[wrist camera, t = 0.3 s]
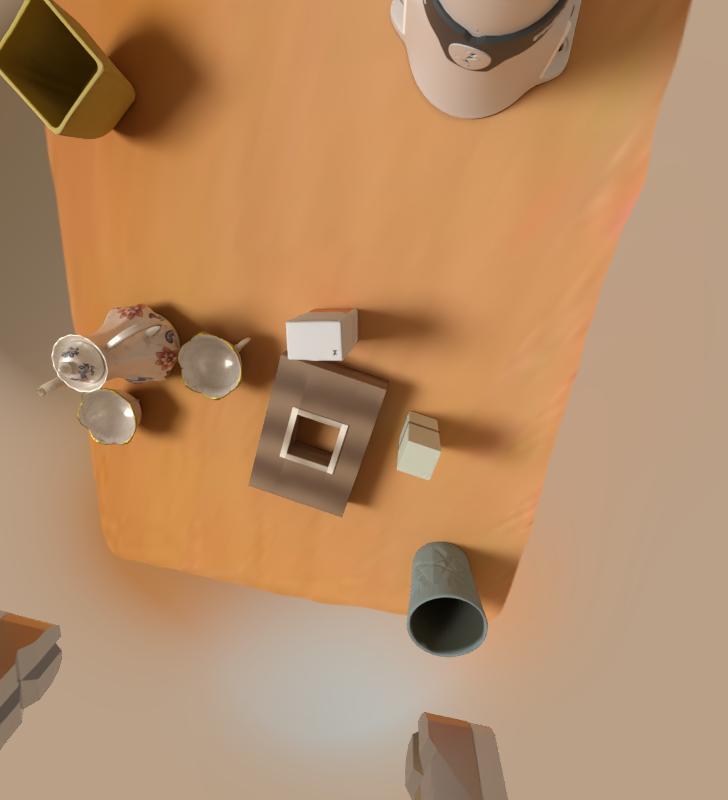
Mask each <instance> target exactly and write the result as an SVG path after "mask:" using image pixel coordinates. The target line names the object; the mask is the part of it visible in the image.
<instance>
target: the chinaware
mask: <svg viewBox="0 0 728 800" xmlns="http://www.w3.org/2000/svg"><path fill="white" fill-rule="evenodd" d="M190 340H191V341H188V342H186V343H185V344H183V345H182V346H181V343H180V338H179V335H178V332H177V330H176V329H175V327H174V326H173V324H172V323H171V322H170V321H169V320H168V319H167V318H166V317H164V316H163V315H161V314H159V313H156V312H154V311H152V310H151V309H150V308H149V307H147V306H146V305H144V304H138V305H135V306H131V307H124V308H113V309H112V310H110V312H109V313H108V315H107V317H106V319H105V322H104V324H103V326H102V327H101V328H100V329H99V330H97V331H96V332H95V333H93V334H91V335H89V336H79V335H67V336H65V337H62V338H60V339H59V340H58V342H57V343H56V344H55V345H54V346H53V353H52V356H51V357H52V360H53V367H54V369H55V370H56V372H57V373H58V376H59V377H57V378H55V379H53V380H51V381H49V382H47V383H45V384H43V385H42V386H40V387H39V388H38V389H37V392H38V394H39V395H41V396H44V395H47V394H49V393H51V392H53V391H55V390H58V389H61V388H65V387H71V388H73V389H76V390H77V391H79V392H84V393H83V395H82V402H83V403H81V404H80V406H79V408H78V410H77V418H78V420H79V421H80V423H81V424H82V425H83V426H84V427H86V428H87V429H90V430H89V431H90V434H91V436H92V438H93V439H94V440H96V442H98V443H101V444H105V445H109V444H115V443H116V444H119V445H124V444H128V443H129V442H130V440H131V439H132V438H133V436H134V433H135V431H136V428H137V427H138V425H139V423H140V421H141V411H142V410H141V408H140V404H139V399H136V398H134V397H133V396H132V395H130V394H129V393H127V392H125V391H122V390H117V389H108V388H103V389H102V388H101V387H102V385H103V384H104V383H105V382H106V381H108V380H111V379H113V378H123V379H125V380H127V381H129V382H131V383H134V384H141V383H144V382H150V381H164V380H166V379H167V378H168V376H169V374H170V372H171V370H172V368H173V366H174V364H175V363H176V361H177V360H178V363H179V365H180V367H181V368H182V369H181V377H182V380H183V382H184V384H185V386H186V387H188V388H189V389H190V390H192V391H194V392H198V393H202V392H203V395H205V396H206V397H207V398H209V399H214V400H219V399H221V398H224V397H225V396H227V395H228V394H229V393H230V392H231V391H233V390H235V389H236V388H237V387H238V386H239V385H240V384H241V383H242V361H241V357H240V354H239V352H240V351H241V348H242V347H243V346H245V345H246V344H247V343H248V342H250V340H251V339H250V338H249V337H248V338H245V339H243V340H242V341H240V342H239V343H238V344H237V345H236V344H235V346H233V345H232V344H231V343H229V342H228V341H226V340H224V339H222V338H220V337H218V336H215V335H213V334H210V333H206V332H200V333H199V334H196V335H194V336H193V337H192V338H191V339H190Z"/></svg>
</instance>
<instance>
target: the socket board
mask: <svg viewBox="0 0 728 800" xmlns="http://www.w3.org/2000/svg"><path fill="white" fill-rule="evenodd" d="M388 382H389V381H386V380H383V379H380V378H377V377H374V376H371V375H368V374H365V373H362V372H359V371H356V370H353V369H350V368H347V367H344V366H342V365H339V364H336V363H333V362H330V361H311V360H289V359H288V351H285V352H284V353H283V354H281V357H280V361H279V365H278V369H277V373H276V377H275V381H274V385H273V389H272V393H271V397H270V401H269V405H268V409H267V413H266V417H265V421H264V425H263V429H262V433H261V437H260V441H259V445H258V449H257V453H256V457H255V462H254V466H253V470H252V474H251V478H250V482H249V486H251V487H254V488H257V489H260V490H263V491H266V492H269V493H272V494H275V495H278V496H281V497H284V498H287V499H289V500H292V501H295V502H298V503H301V504H304V505H307V506H310V507H313V508H316V509H319V510H322V511H325V512H328V513H331V514H334V515H337V516H340V517H342V516H343V513H344V510H345V507H346V505H347V502H348V499H349V496H350V493H351V490H352V487H353V485H354V482H355V479H356V476H357V473H358V470H359V468H360V465H361V462H362V459H363V456H364V453H365V450H366V448H367V445H368V442H369V439H370V436H371V433H372V431H373V428H374V425H375V422H376V419H377V416H378V413H379V411H380V408H381V405H382V402H383V399H384V396H385V394H386V391H387V386H388ZM302 416H303V417H306V418H309V419H312V420H315V421H318V422H321V423H324V424H327V425H330V426H333V427H336V428H339V429H340V433H339V436H338V439H337V442H336V445H335V448H334V451H333V453H330V452H327V451H324V450H321V449H318V448H315V447H312V446H309V445H306V444H303V443H300V442H297V441H295V438H296V435H297V431H298V427H299V424H300V420H301V417H302Z"/></svg>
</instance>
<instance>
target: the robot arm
mask: <svg viewBox="0 0 728 800" xmlns="http://www.w3.org/2000/svg"><path fill="white" fill-rule="evenodd" d="M581 1H582V0H393V2H392V5H391V12H390V17H391V21H392V24H393V26H394V28H395V29H396V31H397V33H398V34H399V36H400V37H401V39H402V40H403V41H404V43H405V46H406V49H407V52H408V57H409V62H410V66H411V70H412V73H413V76H414V78H415V81H416V83H417V85H418V87H419V88H420V90H421V92H422V93H423V94H424V96H425V97H426V98H427V99H428V100H429V101H430V102H431V103H432V104H433V105H434V106H435V107H437V108H438V109H440V110H441V111H443V112H445V113H447V114H449V115H452V116H455V117H460V118H468V119H473V118H482V117H486V116H490V115H493V114H495V113H498V112H500V111H502V110H503V109H505V108H507V107H508V106H510V105H511V104H513V103H514V102H515V101H516V100H518V99H519V98H520V97H521V96H522V95H523V94H524V93H525V92H527V91H528V90H529V89H530V88H532V87H533V86H535V85H538V84H541V83H544V82H547V81H549V80H552V79H554V78H556V77H557V76H559V75H560V74H561V73H562V72H563V70H564V69H565V67H566V65H567V62H568V59H569V55H570V50H571V46H572V42H573V37H574V33H575V28H576V24H577V19H578V15H579V10H580V6H581ZM560 46H561V51H559V52H557V51H558V50H559V48H560ZM60 637H61V634H60V626H59V625H55V624H51V623H47V622H43V621H39V620H35V619H31V618H27V617H23V616H19V615H15V614H12V613H8V612H4V611H0V749H1V748H2V747H3V745H4V744H5V743H6V742H7V740H8V739H9V738H10V737H11V735H12V734H13V733H14V732H15V730H16V729H17V728H18V726H19V725H20V724H21V723H22V715H23V709H24V708H26V707H28V706H29V705H31V704H33V703H35V702H36V701H38V700H39V699H40V698H41V697H42V696H43V694H44V693H45V692H46V691H47V689H48V688H49V687H50V685H51V683H52V682H53V680H54V678H55V676H56V674H57V672H58V670H59V667H60V663H61V660H62V651H61V649H60V648H59V647H58V646H57V644H56V641H57V640H58V639H59V638H60ZM418 730H419V731H418V732H416V733H414V734H413V735H412V737H411V740H410V742H409V746H408V751H407V757H406V770H405V771H406V772H405V776H406V777H405V778H406V780H405V781H406V783H405V785H406V788H407V790H408V792H409V794H410V796H411V798H412V800H508V798H507V792H506V788H505V783H504V778H503V773H502V768H501V763H500V758H499V753H498V748H497V743H496V738H495V734H494V732H493V730H492V729H491V728H489V727H487V726H482V725H478V724H473V723H469V722H467V721H462V720H458V719H454V718H449V717H444V716H440V715H435V714H430V713H426V712H424V713H423V714H422V715H421V717H420V719H419V721H418Z"/></svg>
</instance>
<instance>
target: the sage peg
mask: <svg viewBox="0 0 728 800" xmlns="http://www.w3.org/2000/svg"><path fill="white" fill-rule="evenodd" d="M398 450H399V451H398V462H397V470H399V471H402V472H405V473H408V474H411V475H414V476H417V477H420V478H422V479H425V480H428V481H429V480H430V477H431V475H432V473H433V470H434V468H435V466H436V463H437V461H438V459H439V456H440V454H441V445H440V438H439V430H438V423H437V420H436V419H433V418H430V417H427V416H424V415H421V414H418V413H415V412H412V411H409V413H408V415H407V418H406V421H405V423H404V426H403V429H402V431H401V434H400V439H399V448H398Z"/></svg>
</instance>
